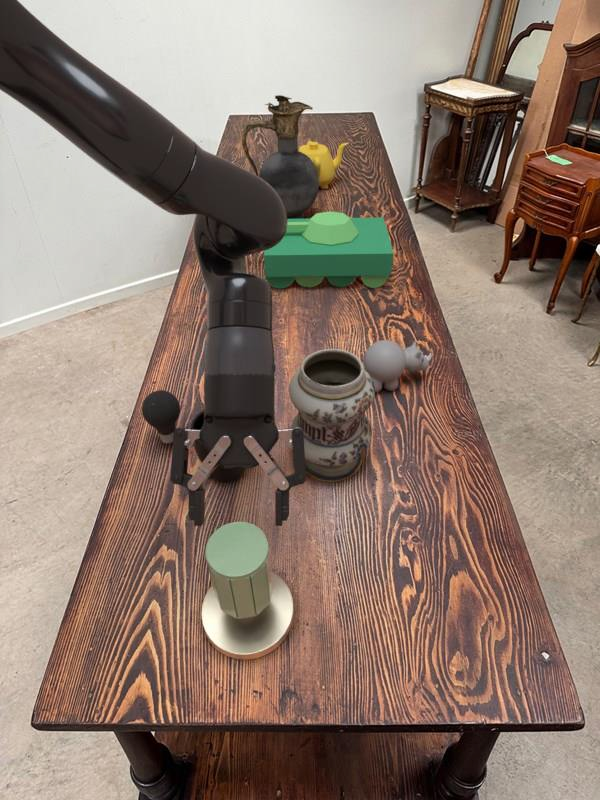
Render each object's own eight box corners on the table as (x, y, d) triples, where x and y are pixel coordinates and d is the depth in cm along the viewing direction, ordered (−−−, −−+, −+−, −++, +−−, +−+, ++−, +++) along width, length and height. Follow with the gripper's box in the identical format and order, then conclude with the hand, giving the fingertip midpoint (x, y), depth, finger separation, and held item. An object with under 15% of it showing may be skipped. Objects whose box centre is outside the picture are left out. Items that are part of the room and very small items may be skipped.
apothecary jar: (331, 418, 89) (334, 329, 77) (385, 459, 83) (398, 368, 70) (275, 455, 84) (268, 365, 71) (328, 502, 77) (331, 412, 65)
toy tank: (232, 203, 123) (385, 201, 123) (237, 253, 132) (380, 251, 131) (224, 239, 110) (395, 236, 110) (230, 291, 119) (389, 289, 118)
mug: (259, 431, 87) (255, 387, 81) (250, 491, 79) (245, 447, 72) (209, 430, 88) (201, 386, 81) (194, 489, 79) (184, 445, 72)
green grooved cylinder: (229, 629, 58) (219, 588, 52) (208, 578, 62) (196, 535, 56) (282, 602, 60) (279, 560, 54) (258, 555, 65) (252, 511, 58)
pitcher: (321, 224, 142) (322, 98, 122) (248, 228, 141) (237, 102, 121) (316, 207, 150) (317, 86, 130) (248, 211, 149) (237, 89, 129)
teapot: (322, 197, 155) (322, 155, 147) (282, 186, 161) (280, 145, 153) (347, 182, 163) (349, 140, 155) (308, 172, 169) (308, 132, 161)
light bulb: (180, 456, 84) (169, 409, 77) (146, 452, 84) (132, 406, 78) (191, 430, 88) (181, 384, 81) (158, 426, 88) (146, 380, 82)
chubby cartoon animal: (433, 392, 94) (441, 353, 88) (366, 397, 93) (369, 359, 87) (422, 365, 99) (429, 327, 93) (358, 371, 98) (361, 333, 92)
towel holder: (222, 678, 60) (205, 621, 50) (190, 595, 67) (170, 531, 57) (309, 632, 63) (309, 571, 54) (270, 558, 71) (263, 492, 61)
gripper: (164, 370, 54) (163, 532, 54) (305, 370, 54) (306, 532, 54) (182, 376, 62) (181, 518, 61) (305, 376, 62) (306, 518, 61)
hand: (239, 525), depth 57 cm, fingers open, 8 cm apart
